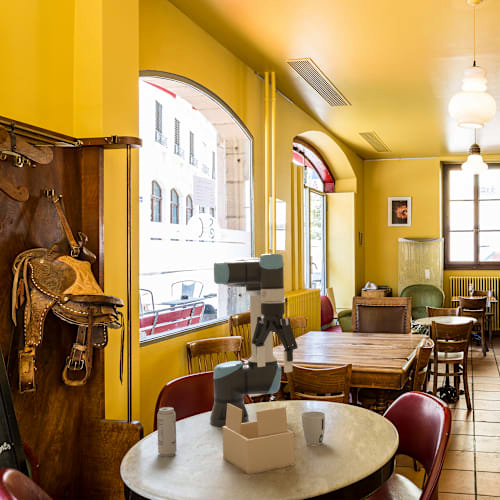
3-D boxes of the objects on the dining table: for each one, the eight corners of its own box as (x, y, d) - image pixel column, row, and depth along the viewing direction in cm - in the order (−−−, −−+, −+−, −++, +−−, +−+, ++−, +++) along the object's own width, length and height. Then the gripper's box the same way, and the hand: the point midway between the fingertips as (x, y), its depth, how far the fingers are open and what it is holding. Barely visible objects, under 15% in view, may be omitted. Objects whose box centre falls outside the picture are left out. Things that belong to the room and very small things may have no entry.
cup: (325, 447, 201) (324, 417, 201) (301, 446, 203) (300, 417, 203) (326, 440, 209) (326, 411, 209) (303, 439, 211) (302, 411, 211)
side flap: (228, 403, 193) (227, 403, 192) (242, 409, 184) (241, 409, 184) (226, 425, 192) (225, 425, 192) (240, 433, 183) (239, 433, 183)
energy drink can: (177, 456, 196) (175, 410, 196) (158, 458, 195) (157, 411, 195) (176, 450, 202) (175, 406, 202) (158, 452, 201) (157, 407, 201)
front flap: (256, 411, 181) (257, 411, 180) (284, 407, 185) (285, 407, 185) (258, 435, 180) (259, 435, 180) (286, 430, 185) (287, 430, 184)
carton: (222, 457, 194) (221, 426, 194) (267, 448, 202) (266, 418, 202) (248, 474, 177) (247, 440, 178) (296, 464, 185) (295, 431, 185)
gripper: (240, 301, 198) (242, 365, 198) (288, 304, 178) (290, 376, 178) (258, 300, 203) (260, 363, 202) (307, 302, 182) (309, 372, 182)
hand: (274, 369), depth 190 cm, fingers open, 13 cm apart
